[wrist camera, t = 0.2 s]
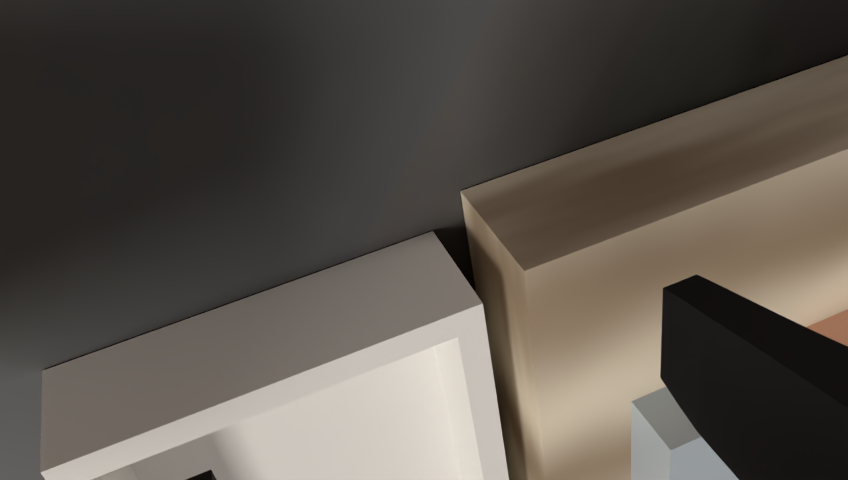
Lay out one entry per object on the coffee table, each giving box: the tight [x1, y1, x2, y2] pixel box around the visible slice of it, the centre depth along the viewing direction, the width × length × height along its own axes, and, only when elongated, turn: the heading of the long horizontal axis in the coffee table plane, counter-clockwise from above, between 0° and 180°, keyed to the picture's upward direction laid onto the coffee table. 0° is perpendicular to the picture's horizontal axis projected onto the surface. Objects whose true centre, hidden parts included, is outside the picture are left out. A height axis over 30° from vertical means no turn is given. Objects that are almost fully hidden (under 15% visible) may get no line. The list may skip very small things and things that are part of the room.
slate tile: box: [631, 387, 739, 480], centre depth 25 cm, size 5×5×2 cm
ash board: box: [460, 55, 848, 480], centre depth 28 cm, size 18×16×4 cm
